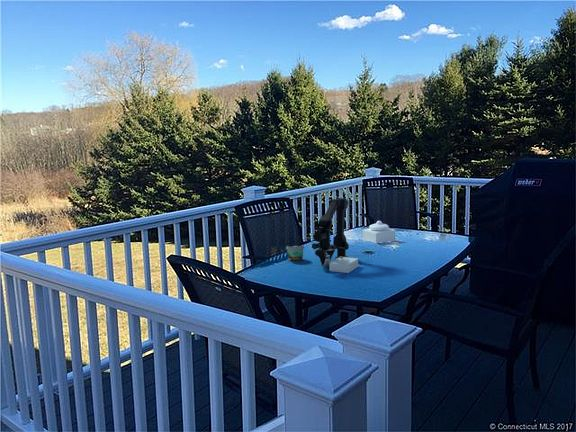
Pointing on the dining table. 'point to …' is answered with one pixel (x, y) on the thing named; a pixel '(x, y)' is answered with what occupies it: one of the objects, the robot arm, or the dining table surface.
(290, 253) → the food container
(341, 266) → the camera body
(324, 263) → the steel lens
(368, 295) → the dining table surface
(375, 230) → the butter dish
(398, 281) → the dining table surface
